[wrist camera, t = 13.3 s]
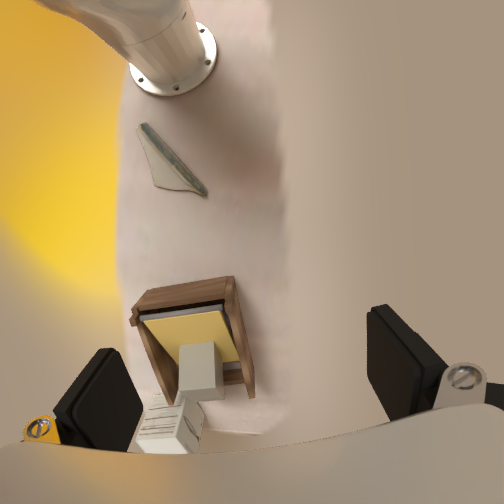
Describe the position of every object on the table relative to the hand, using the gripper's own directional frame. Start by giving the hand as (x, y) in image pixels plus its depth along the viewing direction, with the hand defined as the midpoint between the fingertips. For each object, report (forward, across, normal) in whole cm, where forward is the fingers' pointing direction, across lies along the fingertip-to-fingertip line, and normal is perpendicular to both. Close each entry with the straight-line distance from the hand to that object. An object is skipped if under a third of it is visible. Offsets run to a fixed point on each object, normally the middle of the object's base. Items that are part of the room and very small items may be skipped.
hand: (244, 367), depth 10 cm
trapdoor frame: (+32, +10, +15) cm, 37 cm away
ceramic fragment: (+33, +9, -11) cm, 36 cm away
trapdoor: (+29, +10, +14) cm, 33 cm away
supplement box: (+32, +18, +29) cm, 47 cm away
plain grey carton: (+29, +10, +16) cm, 35 cm away
